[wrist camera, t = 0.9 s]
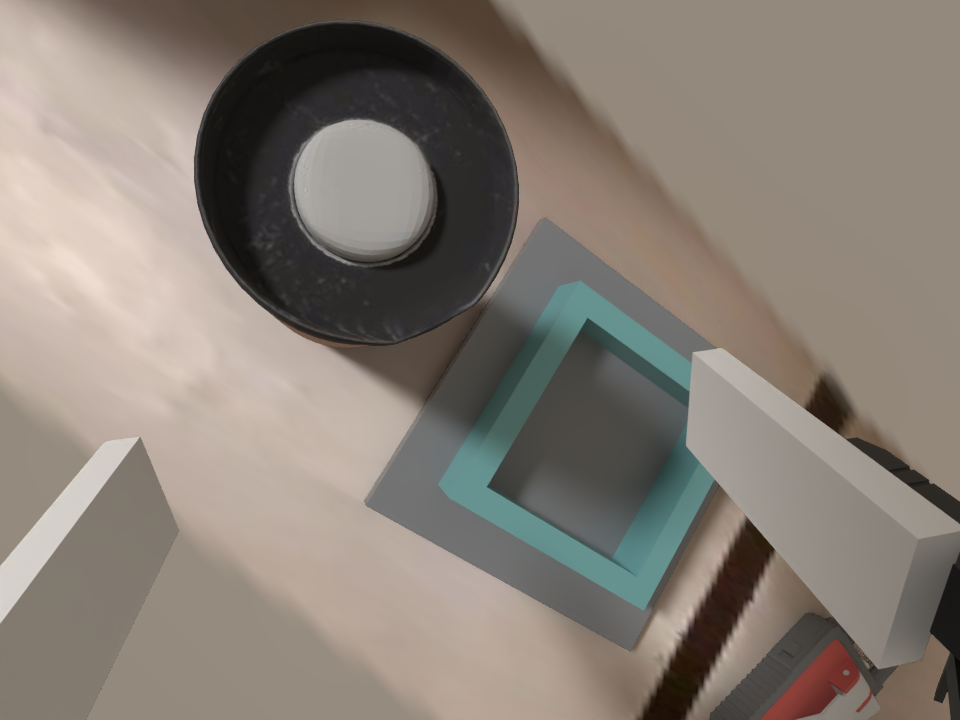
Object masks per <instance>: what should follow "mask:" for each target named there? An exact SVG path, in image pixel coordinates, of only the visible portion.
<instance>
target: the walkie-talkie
mask: <svg viewBox="0 0 960 720" xmlns="http://www.w3.org/2000/svg"><path fill="white" fill-rule="evenodd" d="M854 643H855V642H854V640H853V639H852V638H851V637H850V636H849V635H848V633H847V632H846V631H845V630H844V629H843V628H842V626H841V625H840V624H839V623H838V622H837V621H836V619H834V618H831V617H829V618H827V619H826V620H825V619H823V618H821V617H819V616H817V615H815V614H814V613H812V612H811V613H806V614H805V615H804V616H803V617H802V618H801V619H800V620H799V621H798V622H797V623H796V624H795V625H794V626H793V627H792V629H791V630H790V631H789V632H788V633H787V634H786V635H785V636H784V637H783V638H782V639H781V640H780V641H779V642H778V643H777V644H776V645H775V646H774V647H773V648H772V649H771V650H770V651H769V652H768V654H767V656H766V657H765V658H763V659H762V661H761V662H760V664H757V667H756V668H755V669H752V672H751V673H750V674H747V675H746V676H747V677H746V678H745V679H744V680H742V681H741V683H740V684H739V685H737V686H736V689H735V690H734V691H733V690H732V691H731V694H730V695H729V696H726V699H725V700H724V701H721V704H720V705H719V706H718V707H716V708H715V710H714V711H713V713H712V712H711V714H710V720H869V719H870V718H871V716H873V715H876V714H877V712H878V711H879V710H880V709H881V707H880V705H879V704H878V702H877V701H876V699H875V696H876V695H877V693H878V692H879V691H880V690H881V689H882V688H883V685H882V684H883V683H884V681H885V680H886V679H887V678H888V677H889V676H890V675H891V674H892V672H893V671H894V670H895V669H896V668H897V667H898V666H899V665H897V666H892V667H888V668H883V669H878V668H877V667H876V666H875V665H874V667H873V668H872V669H871V670H870V671H869V670H868V668H869V667H870V666H869V664H868V663H867V662H866V661H865V660H863V659H861V658H860V656H859V655H858V653H857V651H856V650H855V648H854V647H853V644H854Z"/></svg>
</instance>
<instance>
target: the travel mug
mask: <svg viewBox="0 0 960 720" xmlns="http://www.w3.org/2000/svg"><path fill="white" fill-rule="evenodd" d="M194 183H195V189H196V196H197V203H198V207H199V211H200V214H201V218H202V221H203V224H204V227H205V230H206V232H207V234H208V236H209V239H210V241H211V243H212V245H213V248H214V249H215V251H216V253H217V254H218V256H219V258H220V259H221V261H222V263H223V264H224V266H225V268H226V269H227V270H228V272H229V273H230V274H231V275H232V277H233V278H234V279H235V280H236V282H237V283H238V284H239V285H240V287H241V288H242V289H243V290H244V291H245V292H246V293H247V294H249V295H250V296H251V297H252V298H253V299H254V300H255V301H256V302H257V303H258V304H259V305H260V306H262V307H263V308H264V309H265V310H267V311H268V312H269V313H270V314H272V315H273V316H274V317H275V318H277V319H278V320H279V321H280V322H281V323H283V324H284V325H285V326H287V327H288V328H289V329H291V330H292V331H293V332H295V333H297V334H299V335H300V336H302V337H304V338H306V339H309V340H311V341H314V342H316V343H320V344H323V345H327V346H333V347H347V348H353V347H361V346H369V345H370V346H386V345H394V344H397V343H400V342H403V341H405V340H408V339H411V338H414V337H417V336H419V335H421V334H424V333H426V332H429V331H431V330H433V329H435V328H437V327H439V326H440V325H442V324H444V323H446V322H448V321H449V320H451V319H452V318H454V317H455V316H457V315H459V314H461V313H463V312H464V311H466V310H468V309H470V308H471V307H473V306H474V305H475V304H476V303H477V302H478V301H479V300H480V299H481V298H482V297H483V295H484V294H485V293H486V291H487V290H488V289H489V287H490V286H491V284H492V282H493V281H494V279H495V278H496V276H497V274H498V272H499V270H500V268H501V266H502V264H503V262H504V260H505V258H506V255H507V253H508V250H509V248H510V245H511V243H512V239H513V235H514V231H515V227H516V222H517V215H518V207H519V183H518V175H517V166H516V162H515V158H514V154H513V150H512V146H511V143H510V140H509V138H508V135H507V132H506V129H505V127H504V125H503V123H502V121H501V119H500V117H499V115H498V113H497V111H496V109H495V108H494V106H493V105H492V103H491V102H490V100H489V99H488V97H487V95H486V94H485V92H484V91H483V90H482V89H481V88H480V86H479V85H478V84H477V83H476V82H475V80H474V79H473V78H472V77H471V76H470V75H469V74H468V73H467V72H466V71H465V70H464V69H463V68H462V67H461V66H460V65H459V64H458V63H456V62H455V61H454V60H453V59H451V58H450V57H449V56H447V55H446V54H445V53H443V52H442V51H441V50H439V49H438V48H436V47H434V46H433V45H431V44H429V43H427V42H426V41H424V40H422V39H421V38H418V37H416V36H414V35H411V34H409V33H407V32H404V31H402V30H399V29H396V28H392V27H389V26H386V25H382V24H378V23H371V22H365V21H359V20H331V21H322V22H314V23H310V24H306V25H302V26H298V27H295V28H292V29H290V30H287V31H285V32H282V33H280V34H277V35H275V36H273V37H272V38H270V39H268V40H267V41H265V42H263V43H261V44H260V45H258V46H256V47H255V48H254V49H253V50H251V51H250V52H249V53H248V54H246V55H245V56H244V57H243V58H242V59H240V60H239V61H238V62H237V63H236V65H235V66H234V67H233V68H232V69H231V70H230V71H229V72H228V73H227V74H226V76H225V77H224V78H223V80H222V81H221V83H220V84H219V86H218V87H217V89H216V90H215V92H214V93H213V95H212V97H211V99H210V101H209V104H208V106H207V108H206V110H205V112H204V114H203V118H202V121H201V124H200V128H199V131H198V135H197V141H196V148H195V155H194Z"/></svg>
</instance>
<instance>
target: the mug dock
mask: <svg viewBox="0 0 960 720" xmlns="http://www.w3.org/2000/svg"><path fill="white" fill-rule="evenodd" d="M712 349H717V348H716V347H715V346H713V345H712V344H711V343H709V342H708V341H707V340H706V339H704V338H703V337H702V336H700V335H699V334H698V333H696V332H695V331H694V330H692V329H691V328H690V327H689V326H687V325H686V324H685V323H683V322H682V321H681V320H679V319H678V318H677V317H675V316H674V315H673V314H671V313H670V312H669V311H668V310H666V309H665V308H664V307H662V306H661V305H660V304H658V303H657V302H656V301H654V300H653V299H652V298H651V297H649V296H648V295H647V294H645V293H644V292H643V291H641V290H640V289H639V288H637V287H636V286H635V285H634V284H632V283H631V282H630V281H628V280H627V279H626V278H624V277H623V276H622V275H620V274H619V273H618V272H616V271H615V270H614V269H613V268H611V267H610V266H609V265H607V264H606V263H605V262H603V261H602V260H601V259H599V258H598V257H597V256H596V255H594V254H593V253H592V252H590V251H589V250H588V249H586V248H585V247H584V246H582V245H581V244H580V243H579V242H577V241H576V240H575V239H573V238H572V237H571V236H569V235H568V234H567V233H565V232H564V231H563V230H561V229H560V228H559V227H558V226H556V225H555V224H554V223H552V222H551V221H550V220H548V219H547V218H546V217H545V218H543V219H541V220H540V221H539V222H538V224H537V225H536V227H535V228H534V230H533V232H532V233H531V235H530V236H529V238H528V240H527V241H526V243H525V244H524V246H523V248H522V249H521V251H520V252H519V254H518V256H517V257H516V259H515V260H514V262H513V264H512V265H511V267H510V268H509V270H508V272H507V273H506V275H505V276H504V278H503V280H502V281H501V283H500V284H499V286H498V288H497V289H496V291H495V292H494V294H493V296H492V297H491V299H490V300H489V302H488V304H487V305H486V307H485V309H484V310H483V312H482V313H481V315H480V317H479V318H478V320H477V321H476V323H475V325H474V326H473V328H472V329H471V331H470V333H469V334H468V336H467V337H466V339H465V341H464V342H463V344H462V345H461V347H460V349H459V350H458V352H457V353H456V355H455V357H454V358H453V360H452V361H451V363H450V365H449V366H448V368H447V369H446V371H445V373H444V374H443V376H442V377H441V379H440V381H439V382H438V384H437V385H436V387H435V389H434V390H433V392H432V393H431V395H430V397H429V398H428V400H427V401H426V403H425V405H424V406H423V408H422V409H421V411H420V413H419V414H418V416H417V417H416V419H415V421H414V422H413V424H412V425H411V427H410V429H409V430H408V432H407V433H406V435H405V437H404V438H403V440H402V441H401V443H400V445H399V446H398V448H397V449H396V451H395V453H394V454H393V456H392V457H391V459H390V461H389V462H388V464H387V465H386V467H385V469H384V470H383V472H382V473H381V475H380V477H379V478H378V480H377V481H376V483H375V485H374V486H373V488H372V489H371V491H370V493H369V494H368V496H367V497H366V499H365V501H364V502H365V505H366V506H367V507H369V508H371V509H373V510H375V511H376V512H378V513H380V514H382V515H384V516H385V517H387V518H389V519H391V520H393V521H395V522H396V523H398V524H400V525H402V526H404V527H405V528H407V529H409V530H411V531H413V532H414V533H416V534H418V535H420V536H422V537H423V538H425V539H427V540H429V541H431V542H433V543H434V544H436V545H438V546H440V547H442V548H443V549H445V550H447V551H449V552H451V553H452V554H454V555H456V556H458V557H460V558H462V559H463V560H465V561H467V562H469V563H471V564H472V565H474V566H476V567H478V568H480V569H481V570H483V571H485V572H487V573H489V574H491V575H492V576H494V577H496V578H498V579H500V580H501V581H503V582H505V583H507V584H509V585H510V586H512V587H514V588H516V589H518V590H519V591H521V592H523V593H525V594H527V595H529V596H530V597H532V598H534V599H536V600H538V601H539V602H541V603H543V604H545V605H547V606H548V607H550V608H552V609H554V610H556V611H558V612H559V613H561V614H563V615H565V616H567V617H568V618H570V619H572V620H574V621H576V622H577V623H579V624H581V625H583V626H585V627H587V628H588V629H590V630H592V631H594V632H596V633H597V634H599V635H601V636H603V637H605V638H606V639H608V640H610V641H612V642H614V643H616V644H617V645H619V646H621V647H623V648H625V649H626V650H628V651H631V649H632V647H633V645H634V644H635V642H636V640H637V638H638V636H639V634H640V632H641V630H642V629H643V627H644V625H645V623H646V621H647V619H648V617H649V616H650V614H651V612H652V610H653V608H654V606H655V604H656V603H657V601H658V599H659V597H660V595H661V593H662V591H663V589H664V588H665V586H666V584H667V582H668V580H669V578H670V576H671V575H672V573H673V571H674V569H675V567H676V565H677V563H678V561H679V560H680V558H681V556H682V554H683V552H684V550H685V548H686V547H687V545H688V543H689V541H690V539H691V537H692V535H693V533H694V532H695V530H696V528H697V526H698V524H699V522H700V520H701V519H702V517H703V515H704V513H705V511H706V509H707V507H708V505H709V504H710V502H711V500H712V498H713V496H714V494H715V492H716V491H717V489H718V487H719V484H718V482H717V481H716V480H715V479H714V478H713V477H712V475H711V474H710V473H709V472H708V471H707V470H706V469H705V467H704V466H703V465H702V464H701V463H700V462H699V460H698V459H697V458H696V457H695V456H694V455H693V453H692V452H691V451H690V450H689V449H688V448H687V446H686V437H687V423H688V409H689V395H690V381H691V367H692V353H693V352H698V351H705V350H712Z"/></svg>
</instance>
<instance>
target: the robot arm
mask: <svg viewBox="0 0 960 720" xmlns="http://www.w3.org/2000/svg"><path fill="white" fill-rule="evenodd" d="M686 446H687V448H688V449H689V450H690V451H691V452H692V453H693V455H694V456H695V457H696V458H697V459H698V460H699V462H700V463H701V464H702V465H703V466H704V467H705V469H706V470H707V471H708V472H709V473H710V474H711V475H712V477H713V478H714V479H715V480H716V481H717V482H718V484H719V485H720V486H721V487H722V488H723V489H724V491H725V492H726V493H727V494H728V495H729V496H730V498H731V499H732V500H733V501H734V502H735V503H736V505H737V506H738V507H739V508H740V509H741V510H742V511H743V513H744V514H745V515H746V516H747V517H748V518H749V520H750V521H751V522H752V523H753V524H754V525H755V527H756V528H757V529H758V530H759V531H760V532H761V534H762V535H763V536H764V537H765V538H766V539H767V541H768V542H769V543H770V544H771V545H772V546H773V547H774V549H775V550H776V551H777V552H778V553H779V554H780V556H781V557H782V558H783V559H784V560H785V561H786V563H787V564H788V565H789V566H790V567H791V568H792V570H793V571H794V572H795V573H796V574H797V575H798V577H799V578H800V579H801V580H802V581H803V582H804V583H805V585H806V586H807V587H808V588H809V589H810V590H811V592H812V593H813V594H814V595H815V596H816V597H817V599H818V600H819V601H820V602H821V603H822V604H823V606H824V607H825V608H826V609H827V610H828V611H829V612H830V614H831V615H832V616H833V617H834V618H835V619H836V621H837V622H838V623H839V624H840V625H841V626H842V628H843V629H844V630H845V631H846V632H847V633H848V635H849V636H850V637H851V638H852V639H853V640H854V642H855V643H856V644H857V645H858V646H859V647H860V648H861V650H862V651H863V652H864V653H865V654H866V655H867V657H868V658H869V659H870V660H871V661H872V662H873V664H874V665H875V666H876V667H877V668H878V669H883V668H888V667H892V666H897V665H902V664H906V663H911V662H916V661H921V660H922V658H923V655H924V652H925V650H926V647H927V644H928V641H929V638H930V635H931V634H932V635H933V636H934V637H935V638H936V639H938V640H939V641H940V642H941V643H942V644H943V645H944V646H945V647H946V648H947V649H948V650H949V651H950V654H949V657H948V660H947V662H946V665H945V668H944V670H943V673H942V676H941V678H940V681H939V683H938V686H937V689H936V693H935V697H934V700H935V701H938V702H940V703H943V701H944V698H945V695H946V693H947V692H948V696H949V705H950V715H951V720H960V502H959V501H958V500H957V499H955V498H954V497H952V496H951V495H949V494H948V493H947V492H945V491H944V490H942V489H941V488H939V487H938V486H937V485H935V484H930V483H929V480H928V479H927V478H925V477H924V476H922V475H921V474H919V473H918V472H917V471H915V470H910V468H909V466H908V465H907V464H905V463H904V462H902V461H901V460H899V459H898V458H897V457H895V456H894V455H892V454H891V453H890V452H888V451H887V450H885V449H882V448H880V447H878V446H875V445H873V444H871V443H868V442H866V441H863V440H861V439H859V438H851V439H844V438H843V437H842V436H840V435H839V434H838V433H836V432H835V431H833V430H832V429H831V428H829V427H828V426H827V425H825V424H824V423H823V422H821V421H820V420H819V419H817V418H816V417H815V416H813V415H812V414H810V413H809V412H808V411H806V410H805V409H804V408H802V407H801V406H800V405H798V404H797V403H796V402H794V401H793V400H792V399H790V398H789V397H788V396H786V395H785V394H783V393H782V392H781V391H779V390H778V389H777V388H775V387H774V386H773V385H771V384H770V383H769V382H767V381H766V380H765V379H763V378H762V377H761V376H759V375H758V374H756V373H755V372H754V371H752V370H751V369H750V368H748V367H747V366H746V365H744V364H743V363H742V362H740V361H739V360H738V359H736V358H735V357H734V356H732V355H731V354H729V353H728V352H727V351H725V350H724V349H723V348H718V349H712V350H705V351H698V352H693V353H692V367H691V381H690V395H689V409H688V423H687V437H686ZM178 532H179V529H178V526H177V524H176V522H175V519H174V517H173V514H172V512H171V510H170V507H169V505H168V502H167V500H166V498H165V495H164V493H163V490H162V488H161V485H160V483H159V481H158V478H157V476H156V473H155V471H154V469H153V466H152V464H151V461H150V459H149V456H148V454H147V452H146V449H145V447H144V444H143V442H142V440H141V437H133V438H126V439H120V440H113V441H107V442H104V443H103V445H102V446H101V447H100V448H99V449H98V450H97V452H96V453H95V454H94V455H93V456H92V458H91V459H90V460H89V461H88V463H87V464H86V465H85V466H84V467H83V468H82V470H81V471H80V472H79V473H78V474H77V475H76V477H75V478H74V479H73V480H72V481H71V483H70V484H69V485H68V486H67V487H66V489H65V490H64V491H63V492H62V493H61V495H60V496H59V497H58V498H57V500H56V501H55V502H54V503H53V504H52V505H51V506H50V508H49V509H48V510H47V511H46V512H45V514H44V515H43V516H42V517H41V519H40V520H39V521H38V522H37V523H36V524H35V526H34V527H33V528H32V529H31V530H30V531H29V533H28V534H27V535H26V536H25V537H24V539H23V540H22V541H21V542H20V543H19V545H18V546H17V547H16V548H15V549H14V551H13V552H12V553H11V554H10V555H9V556H8V558H7V559H6V560H5V561H4V562H3V564H2V565H1V566H0V720H86V719H87V717H88V715H89V713H90V711H91V709H92V707H93V705H94V703H95V701H96V699H97V697H98V695H99V693H100V691H101V689H102V686H103V684H104V683H105V680H106V678H107V676H108V674H109V672H110V670H111V668H112V666H113V664H114V662H115V660H116V658H117V656H118V654H119V652H120V650H121V648H122V646H123V644H124V641H125V640H126V638H127V636H128V634H129V632H130V630H131V628H132V625H133V624H134V621H135V619H136V617H137V615H138V613H139V611H140V609H141V607H142V605H143V603H144V601H145V599H146V597H147V595H148V593H149V591H150V589H151V587H152V585H153V583H154V581H155V579H156V577H157V575H158V573H159V571H160V569H161V566H162V564H163V562H164V560H165V558H166V556H167V554H168V552H169V550H170V548H171V546H172V544H173V542H174V540H175V538H176V536H177V534H178Z"/></svg>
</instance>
